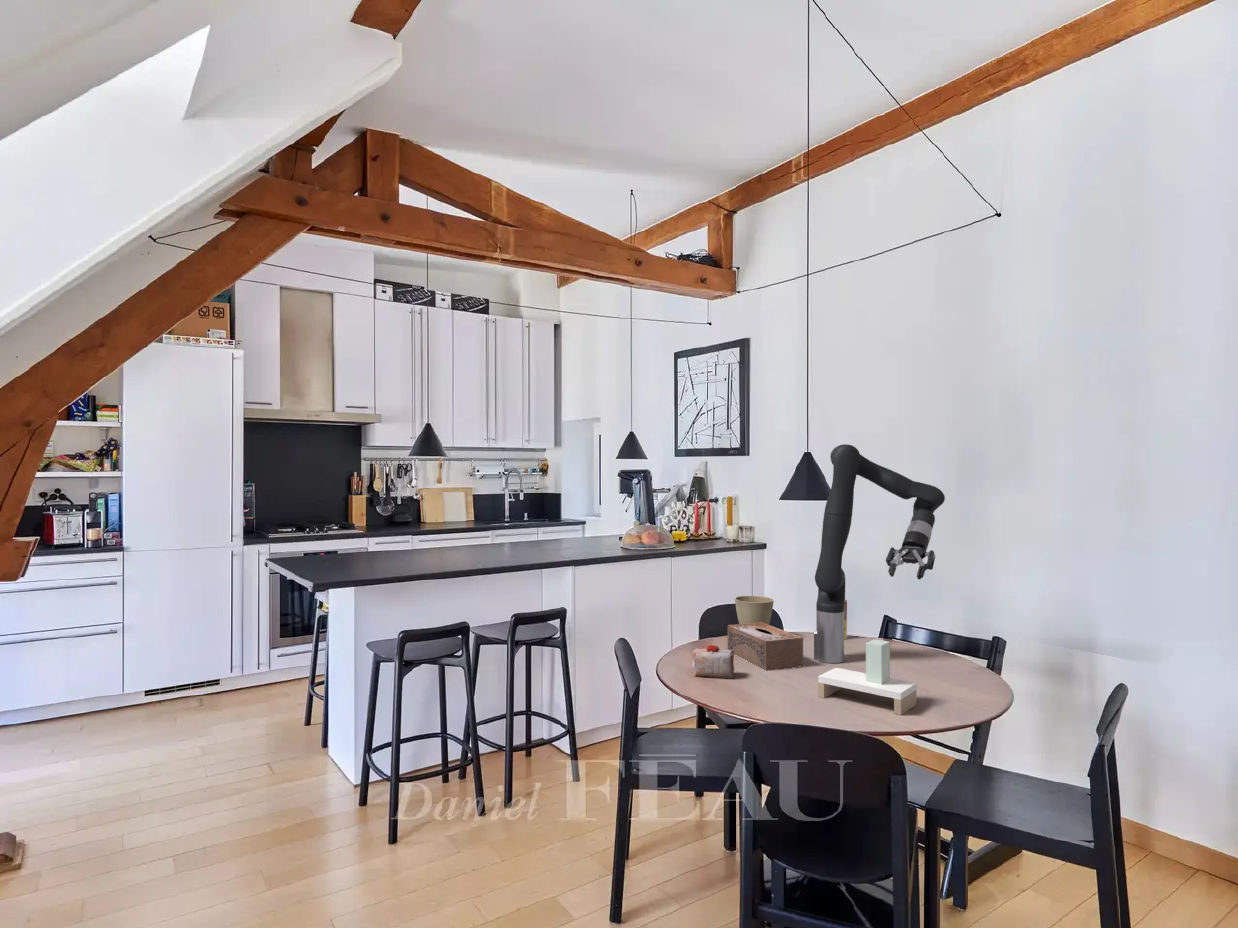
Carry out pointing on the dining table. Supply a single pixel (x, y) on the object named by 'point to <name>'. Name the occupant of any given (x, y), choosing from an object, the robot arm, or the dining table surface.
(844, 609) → the candy box
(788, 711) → the dining table surface
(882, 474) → the robot arm
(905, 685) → the shelf
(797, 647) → the tissue box cover
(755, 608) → the plant pot
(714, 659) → the food item
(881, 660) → the pale green rectangular block
